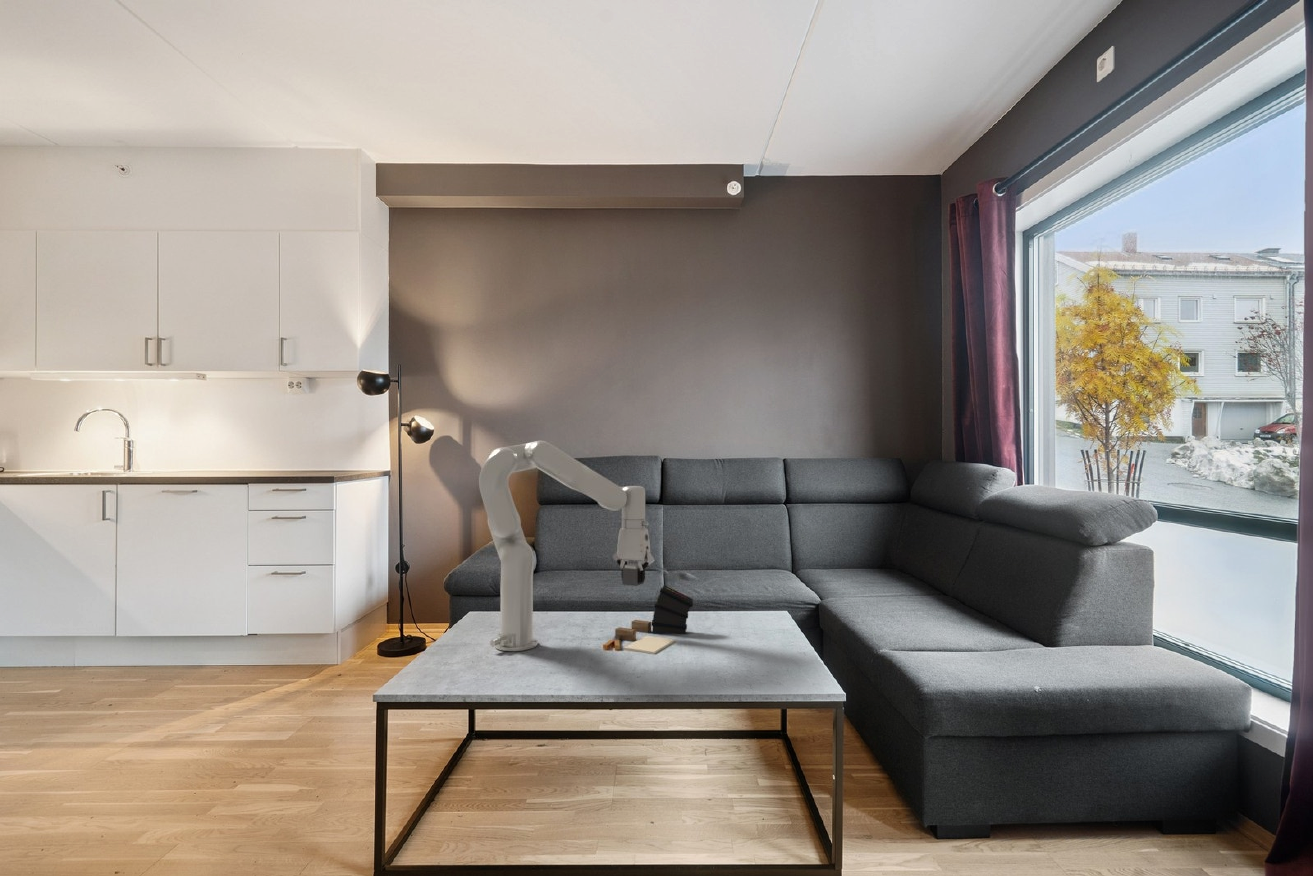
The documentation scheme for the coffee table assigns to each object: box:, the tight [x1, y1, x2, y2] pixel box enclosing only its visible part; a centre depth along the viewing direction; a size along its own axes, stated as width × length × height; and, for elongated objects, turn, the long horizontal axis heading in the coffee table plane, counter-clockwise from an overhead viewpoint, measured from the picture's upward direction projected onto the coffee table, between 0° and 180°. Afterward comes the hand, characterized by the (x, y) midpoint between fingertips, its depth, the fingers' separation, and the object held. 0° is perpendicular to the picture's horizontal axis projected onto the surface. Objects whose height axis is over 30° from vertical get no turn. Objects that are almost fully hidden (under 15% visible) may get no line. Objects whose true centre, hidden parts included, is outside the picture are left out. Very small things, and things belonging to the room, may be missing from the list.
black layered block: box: [651, 584, 694, 635], centre depth 210 cm, size 4×13×15 cm, turn 87°
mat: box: [623, 635, 676, 655], centre depth 195 cm, size 14×10×1 cm
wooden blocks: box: [614, 619, 652, 642], centre depth 207 cm, size 13×6×3 cm, turn 153°
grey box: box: [622, 563, 645, 587], centre depth 208 cm, size 5×5×6 cm
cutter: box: [602, 635, 622, 651], centre depth 196 cm, size 11×5×1 cm, turn 173°
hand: (633, 581), depth 207 cm, fingers closed on grey box, 5 cm apart
